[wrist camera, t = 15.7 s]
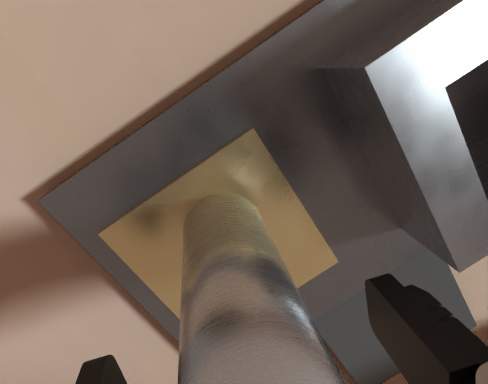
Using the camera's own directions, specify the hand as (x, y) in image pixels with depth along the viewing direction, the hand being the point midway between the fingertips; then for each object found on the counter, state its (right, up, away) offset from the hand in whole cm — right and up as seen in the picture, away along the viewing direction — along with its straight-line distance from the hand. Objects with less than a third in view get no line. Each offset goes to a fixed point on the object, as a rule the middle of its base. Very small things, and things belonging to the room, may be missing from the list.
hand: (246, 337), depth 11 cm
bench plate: (+5, +6, +6) cm, 10 cm away
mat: (+8, -3, +10) cm, 13 cm away
